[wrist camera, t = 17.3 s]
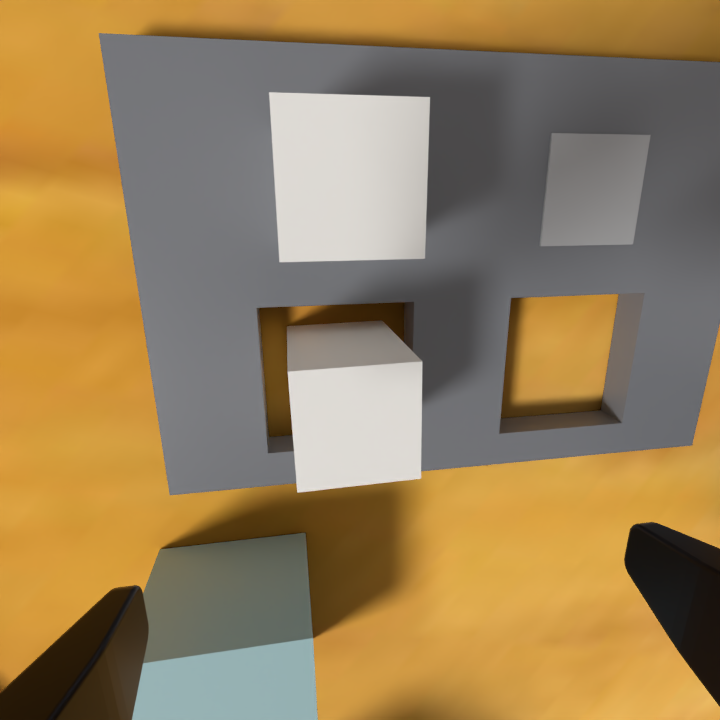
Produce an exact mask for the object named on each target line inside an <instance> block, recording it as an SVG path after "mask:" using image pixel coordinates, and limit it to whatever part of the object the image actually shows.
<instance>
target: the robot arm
mask: <svg viewBox="0 0 720 720" xmlns="http://www.w3.org/2000/svg"><path fill="white" fill-rule="evenodd" d="M624 561H625V567H626V569H627V572H628V574H629V575H630V577H631V578H632V580H633V582H634V583H635V585H636V586H637V588H638V589H639V591H640V593H641V594H642V596H643V597H644V599H645V600H646V602H647V604H648V605H649V607H650V608H651V610H652V611H653V613H654V614H655V616H656V618H657V619H658V621H659V622H660V624H661V625H662V627H663V629H664V630H665V632H666V633H667V635H668V636H669V638H670V639H671V641H672V642H673V644H674V645H675V647H676V648H677V650H678V651H679V653H680V654H681V656H682V657H683V658H684V660H685V661H686V662H687V664H688V665H689V667H690V668H691V669H692V671H693V672H694V673H695V675H696V676H697V677H698V678H699V680H700V681H701V682H702V684H703V685H704V686H705V688H706V689H707V690H708V692H709V693H710V694H711V696H712V697H713V698H714V700H715V701H716V702H717V704H718V705H719V706H720V549H719V548H717V547H714V546H712V545H709V544H707V543H705V542H702V541H700V540H697V539H695V538H692V537H690V536H687V535H685V534H682V533H680V532H678V531H675V530H673V529H670V528H668V527H665V526H663V525H660V524H658V523H654V522H649V523H641V524H635V525H633V526H632V528H631V529H630V532H629V537H628V542H627V547H626V553H625V558H624ZM148 635H149V624H148V618H147V613H146V607H145V602H144V597H143V592H142V590H141V588H140V587H139V586H137V585H134V586H126V587H118V588H114V589H112V590H111V591H109V592H108V593H107V594H106V595H105V596H104V597H103V598H102V599H101V600H100V601H98V602H97V603H96V604H95V605H94V606H93V607H92V608H91V609H90V610H89V611H88V612H87V613H86V614H84V615H83V616H82V617H81V618H80V619H79V620H78V621H77V622H76V623H75V624H74V625H73V626H72V627H70V628H69V629H68V630H67V631H66V632H65V633H64V634H63V635H62V636H61V637H60V638H59V639H58V640H56V641H55V642H54V643H53V644H52V645H51V646H50V647H49V648H48V649H47V650H46V651H45V652H43V653H42V654H41V655H40V656H39V657H38V658H37V659H36V660H35V661H34V662H33V663H32V664H31V665H29V666H28V667H27V668H26V669H25V670H24V671H23V672H22V673H21V674H20V675H19V676H18V677H17V678H15V679H14V680H13V681H12V682H11V683H10V684H9V685H8V686H7V687H6V688H5V689H4V690H3V691H1V692H0V720H132V717H133V712H134V707H135V702H136V697H137V692H138V687H139V682H140V677H141V672H142V667H143V662H144V657H145V652H146V647H147V642H148Z"/></svg>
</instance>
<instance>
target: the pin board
mask: <svg viewBox="0 0 720 720" xmlns="http://www.w3.org/2000/svg"><path fill="white" fill-rule="evenodd" d="M99 38H100V44H101V51H102V57H103V64H104V70H105V77H106V83H107V90H108V96H109V103H110V109H111V116H112V122H113V129H114V135H115V142H116V148H117V155H118V161H119V168H120V174H121V181H122V187H123V194H124V200H125V207H126V213H127V220H128V226H129V233H130V239H131V246H132V252H133V259H134V265H135V272H136V278H137V285H138V291H139V298H140V304H141V311H142V317H143V324H144V330H145V337H146V343H147V350H148V356H149V363H150V369H151V376H152V382H153V389H154V395H155V402H156V408H157V415H158V421H159V428H160V434H161V441H162V447H163V454H164V460H165V467H166V473H167V480H168V486H169V493H170V495H178V494H188V493H199V492H209V491H220V490H230V489H241V488H251V487H261V486H272V485H282V484H293V483H296V470H295V458H294V445H293V435H287V436H275V437H269V429H268V416H267V403H266V390H265V377H264V364H263V351H262V338H261V325H260V312H259V308H264V307H290V306H315V305H341V304H367V303H393V302H405V303H404V343H405V344H406V345H407V346H408V347H409V348H410V349H411V350H412V351H413V352H414V353H415V354H416V355H417V356H418V357H419V358H420V359H421V360H422V437H421V471H429V470H439V469H450V468H460V467H471V466H481V465H491V464H502V463H512V462H523V461H533V460H544V459H554V458H565V457H575V456H585V455H596V454H606V453H617V452H627V451H638V450H648V449H659V448H669V447H680V446H690V445H692V443H693V439H694V434H695V430H696V425H697V421H698V416H699V412H700V408H701V403H702V399H703V394H704V390H705V386H706V381H707V377H708V372H709V368H710V364H711V359H712V355H713V350H714V346H715V342H716V337H717V333H718V328H719V324H720V62H704V61H682V60H661V59H639V58H618V57H596V56H575V55H553V54H532V53H510V52H489V51H467V50H446V49H424V48H403V47H381V46H360V45H338V44H317V43H295V42H274V41H252V40H231V39H209V38H188V37H166V36H145V35H124V34H102V33H99ZM601 294H619V297H618V303H617V309H616V316H615V322H614V329H613V335H612V341H611V348H610V354H609V360H608V367H607V373H606V379H605V386H604V392H603V399H602V405H601V410H599V411H587V412H574V413H562V414H549V415H537V416H524V417H512V418H501V406H502V395H503V384H504V372H505V361H506V349H507V338H508V326H509V315H510V304H511V298H523V297H549V296H575V295H601Z"/></svg>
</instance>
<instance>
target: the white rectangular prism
mask: <svg viewBox="0 0 720 720" xmlns="http://www.w3.org/2000/svg"><path fill="white" fill-rule="evenodd" d="M287 366H288V383H289V395H290V408H291V420H292V433H293V445H294V458H295V470H296V483H297V493H299V492H307V491H316V490H325V489H334V488H343V487H352V486H360V485H369V484H378V483H387V482H396V481H404V480H413V479H421V437H422V360H421V359H420V358H419V357H418V356H417V355H416V354H415V353H414V352H413V351H412V350H411V349H410V348H409V347H408V346H407V345H406V344H405V343H404V342H403V341H402V340H401V339H400V338H399V337H398V336H397V335H396V334H395V333H394V332H393V331H392V330H391V329H390V328H389V327H388V326H387V325H386V324H385V323H384V322H383V321H382V320H379V321H363V322H347V323H331V324H315V325H299V326H287Z"/></svg>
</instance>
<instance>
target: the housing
mask: <svg viewBox="0 0 720 720" xmlns="http://www.w3.org/2000/svg"><path fill="white" fill-rule="evenodd" d="M143 597H144V602H145V607H146V613H147V618H148V624H149V635H148V642H147V647H146V652H145V657H144V662H143V667H142V672H141V677H140V682H139V687H138V692H137V697H136V702H135V707H134V712H133V717H132V720H318V718H317V701H316V683H315V665H314V648H313V632H312V617H311V603H310V588H309V574H308V560H307V545H306V533H298V534H289V535H281V536H272V537H263V538H254V539H246V540H237V541H228V542H220V543H211V544H202V545H193V546H185V547H176V548H167V549H160V550H159V553H158V556H157V558H156V561H155V564H154V566H153V569H152V572H151V574H150V577H149V580H148V582H147V585H146V588H145V590H144V593H143Z"/></svg>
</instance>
